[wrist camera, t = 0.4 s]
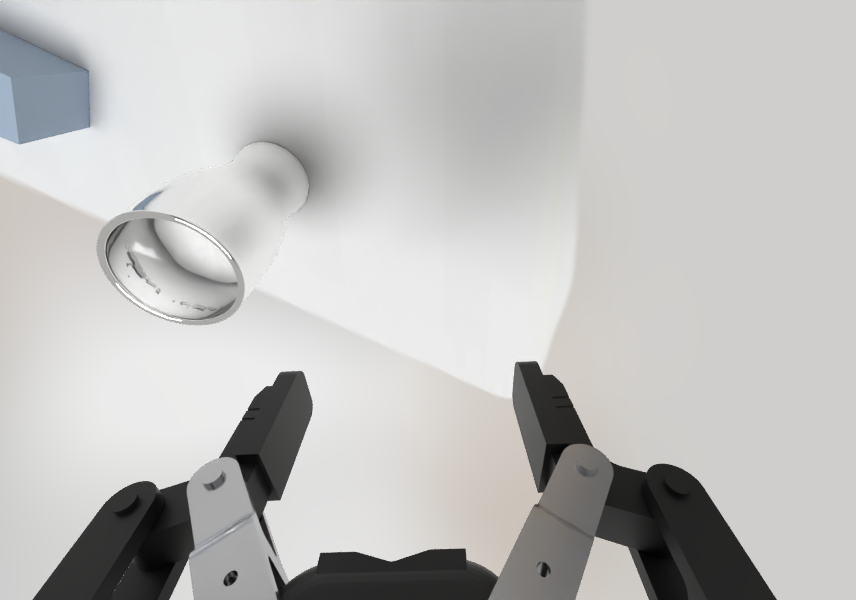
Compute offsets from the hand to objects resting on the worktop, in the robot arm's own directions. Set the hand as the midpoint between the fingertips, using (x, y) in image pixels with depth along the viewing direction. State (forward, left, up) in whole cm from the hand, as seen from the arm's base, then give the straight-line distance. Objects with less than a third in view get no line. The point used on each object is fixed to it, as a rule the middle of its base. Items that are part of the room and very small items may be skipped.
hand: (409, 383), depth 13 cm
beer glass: (0, -12, -21) cm, 24 cm away
